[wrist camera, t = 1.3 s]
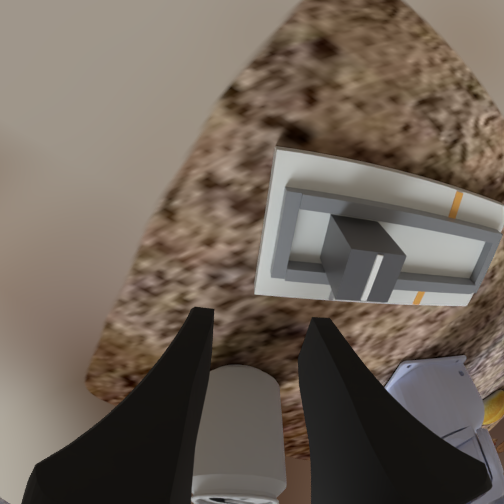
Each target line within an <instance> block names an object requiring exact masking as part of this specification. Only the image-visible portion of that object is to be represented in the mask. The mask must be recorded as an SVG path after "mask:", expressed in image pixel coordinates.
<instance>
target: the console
mask: <svg viewBox="0 0 504 504" xmlns="http://www.w3.org/2000/svg"><path fill="white" fill-rule="evenodd" d="M331 214H332V215H339V216H346V217H352V218H359V219H365V220H371V221H377V222H379V224H380V225H381V226H382V227H383V228H384V229H385V231H386V232H387V233H388V234H389V235H390V236H391V238H392V239H393V240H394V241H395V242H396V243H397V245H398V246H399V247H400V248H401V250H402V251H403V252H404V253H405V254H406V259H405V262H404V264H403V267H402V269H401V272H400V274H399V277H398V279H397V281H396V284H395V286H394V289H393V291H392V293H391V295H390V298H389V300H388V302H369V301H351V300H336V299H335V298H334V295H333V292H332V289H331V287H330V284H329V281H328V278H327V276H326V273H325V270H324V268H323V265H322V262H321V260H320V255H321V251H322V247H323V243H324V239H325V235H326V231H327V227H328V223H329V219H330V215H331ZM503 225H504V204H502V203H501V202H499V201H496V200H493V199H491V198H488V197H485V196H482V195H479V194H477V193H474V192H471V191H468V190H465V189H462V188H459V187H456V186H453V185H449V184H446V183H443V182H440V181H436V180H433V179H430V178H426V177H423V176H419V175H415V174H412V173H408V172H404V171H400V170H397V169H393V168H389V167H384V166H380V165H376V164H372V163H367V162H363V161H358V160H353V159H349V158H344V157H339V156H333V155H328V154H323V153H317V152H311V151H305V150H299V149H293V148H286V147H279V146H275V150H274V157H273V164H272V170H271V177H270V184H269V190H268V197H267V204H266V210H265V217H264V223H263V230H262V236H261V243H260V249H259V256H258V262H257V269H256V275H255V281H254V294H257V295H268V296H279V297H291V298H303V299H317V300H331V301H347V302H364V303H383V304H406V305H436V306H467V304H468V303H469V301H470V299H471V297H472V295H473V293H476V292H477V290H478V288H479V286H480V284H481V282H482V280H483V278H484V276H485V274H486V272H487V270H488V268H489V266H490V263H491V261H492V259H493V257H494V254H495V252H496V250H497V247H498V245H499V242H500V240H501V237H502V235H503V234H502V233H501V231H502V228H503Z"/></svg>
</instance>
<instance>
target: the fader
mask: <svg viewBox="0 0 504 504" xmlns="http://www.w3.org/2000/svg"><path fill="white" fill-rule="evenodd" d="M405 259H406V254H405V253H404V252H403V251H402V250H401V248H400V247H399V246H398V245H397V243H396V242H395V241H394V240H393V239H392V238H391V236H390V235H389V234H388V233H387V232H386V231H385V229H384V228H383V227H382V226H381V225H380V224H379V222H377V221H371V220H365V219H359V218H352V217H346V216H339V215H332V214H331V215H330V219H329V223H328V227H327V231H326V235H325V239H324V243H323V247H322V251H321V255H320V260H321V262H322V265H323V268H324V270H325V273H326V276H327V278H328V281H329V284H330V287H331V289H332V292H333V295H334V298H335V299H336V300H351V301H369V302H388V300H389V298H390V295H391V293H392V291H393V289H394V286H395V284H396V281H397V279H398V277H399V274H400V272H401V269H402V267H403V264H404V262H405Z"/></svg>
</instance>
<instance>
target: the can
mask: <svg viewBox="0 0 504 504" xmlns="http://www.w3.org/2000/svg"><path fill="white" fill-rule="evenodd" d="M285 488H286V469H285V455H284V441H283V427H282V414H281V401H280V388H279V385H278V383H277V381H276V380H275V379H274V378H273V377H271V376H270V375H268V374H267V373H265V372H263V371H261V370H260V369H257V368H254V367H252V366H246V365H240V364H239V365H226V366H222V367H218V368H216V369H215V370H212V371H210V375H209V382H208V387H207V392H206V396H205V401H204V406H203V411H202V415H201V420H200V425H199V430H198V435H197V440H196V447H195V457H194V468H193V480H192V493H193V497H191V501H192V502H193V503H195V504H279V501H278V500H277V499H276V498H277V497H278V496H279V494H280V493H281V492H282V491H283V490H284V489H285Z"/></svg>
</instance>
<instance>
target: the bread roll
mask: <svg viewBox="0 0 504 504" xmlns="http://www.w3.org/2000/svg"><path fill="white" fill-rule="evenodd" d="M483 404H484V420H483V423H482V424H490V423H493V422H495V421H497V420H498V419H500V418H501V417H502V416H503V415H504V391H502V390H498V391H496V392H494V393H493V394H491V395H490V396H488V397H487V398H485V399H484V400H483Z"/></svg>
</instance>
